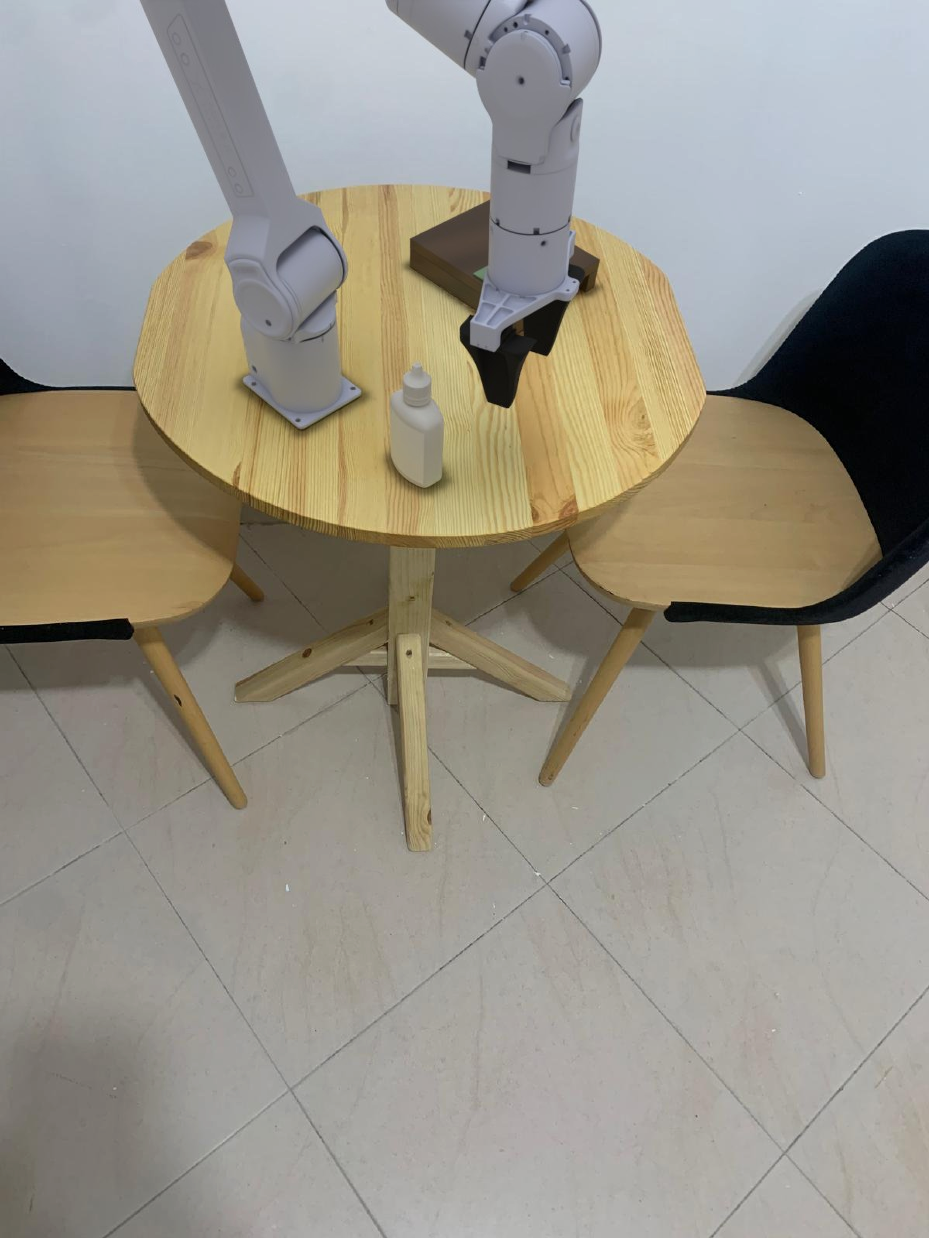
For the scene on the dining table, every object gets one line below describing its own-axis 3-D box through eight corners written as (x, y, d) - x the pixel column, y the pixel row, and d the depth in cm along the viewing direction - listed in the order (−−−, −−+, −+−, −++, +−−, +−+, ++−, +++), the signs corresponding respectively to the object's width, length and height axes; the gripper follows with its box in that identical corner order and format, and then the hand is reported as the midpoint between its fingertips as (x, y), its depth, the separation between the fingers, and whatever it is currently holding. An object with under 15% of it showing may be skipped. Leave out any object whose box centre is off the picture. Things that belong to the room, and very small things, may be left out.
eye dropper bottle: (397, 492, 72) (395, 389, 62) (389, 449, 75) (386, 345, 65) (443, 488, 72) (449, 385, 62) (433, 445, 75) (437, 341, 65)
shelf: (409, 266, 91) (409, 236, 88) (490, 225, 97) (493, 196, 94) (514, 335, 85) (518, 306, 82) (594, 287, 91) (600, 258, 88)
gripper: (540, 281, 49) (526, 443, 60) (621, 181, 56) (595, 343, 67) (442, 253, 51) (446, 416, 62) (533, 160, 58) (522, 320, 69)
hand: (519, 376), depth 65 cm, fingers open, 7 cm apart
